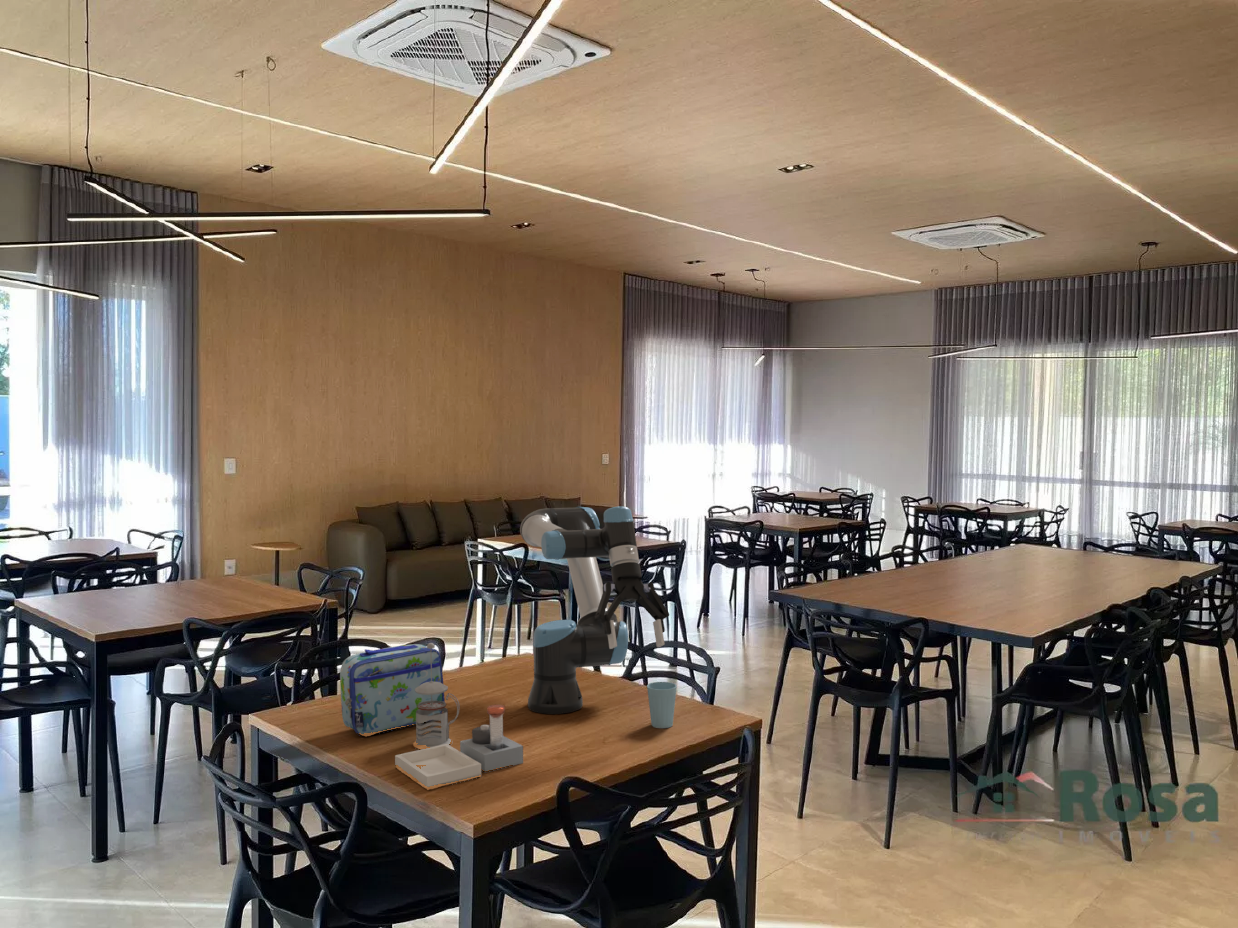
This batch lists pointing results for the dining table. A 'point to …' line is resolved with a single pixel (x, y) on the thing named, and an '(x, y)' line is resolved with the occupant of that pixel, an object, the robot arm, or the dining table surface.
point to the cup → (661, 703)
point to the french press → (425, 708)
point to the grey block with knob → (491, 759)
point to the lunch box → (387, 686)
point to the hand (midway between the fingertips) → (637, 646)
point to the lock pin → (496, 726)
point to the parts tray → (438, 765)
